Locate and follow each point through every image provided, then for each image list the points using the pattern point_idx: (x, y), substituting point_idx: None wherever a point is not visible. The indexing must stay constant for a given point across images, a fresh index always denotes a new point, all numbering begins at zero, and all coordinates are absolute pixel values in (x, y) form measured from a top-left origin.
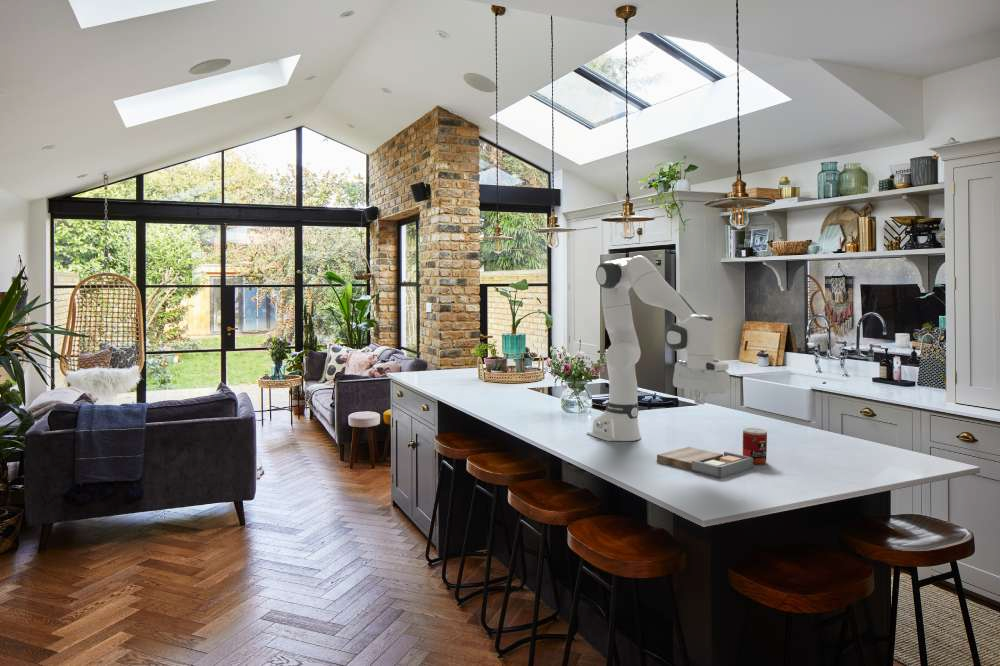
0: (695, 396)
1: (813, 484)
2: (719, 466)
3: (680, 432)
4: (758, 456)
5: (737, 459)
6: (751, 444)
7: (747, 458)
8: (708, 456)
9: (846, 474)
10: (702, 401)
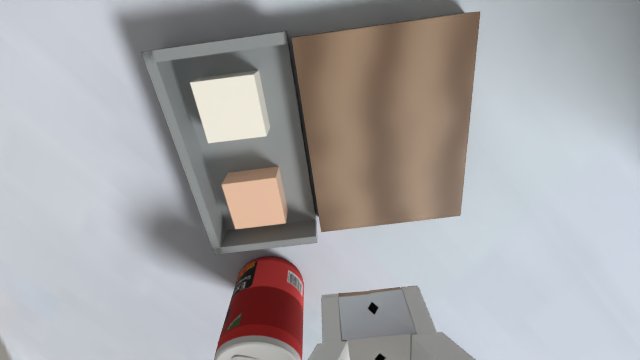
0: (433, 358)
1: (25, 238)
2: (153, 61)
3: (601, 341)
4: (236, 284)
5: (230, 209)
6: (245, 304)
7: (212, 234)
8: (328, 174)
9: (92, 348)
10: (324, 326)
